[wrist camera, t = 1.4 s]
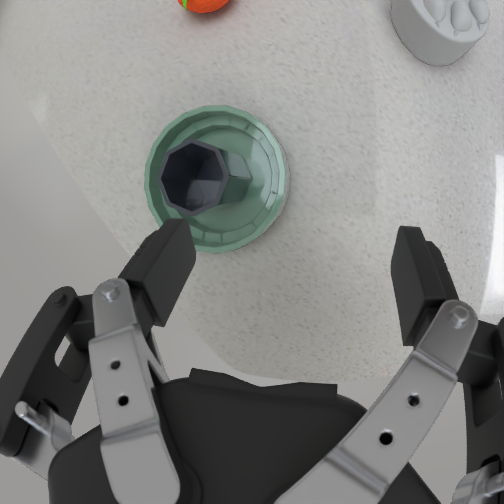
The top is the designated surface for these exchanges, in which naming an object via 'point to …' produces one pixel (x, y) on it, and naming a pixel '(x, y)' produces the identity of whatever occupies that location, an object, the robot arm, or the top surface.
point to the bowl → (257, 160)
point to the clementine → (202, 5)
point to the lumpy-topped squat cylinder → (440, 27)
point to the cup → (202, 178)
